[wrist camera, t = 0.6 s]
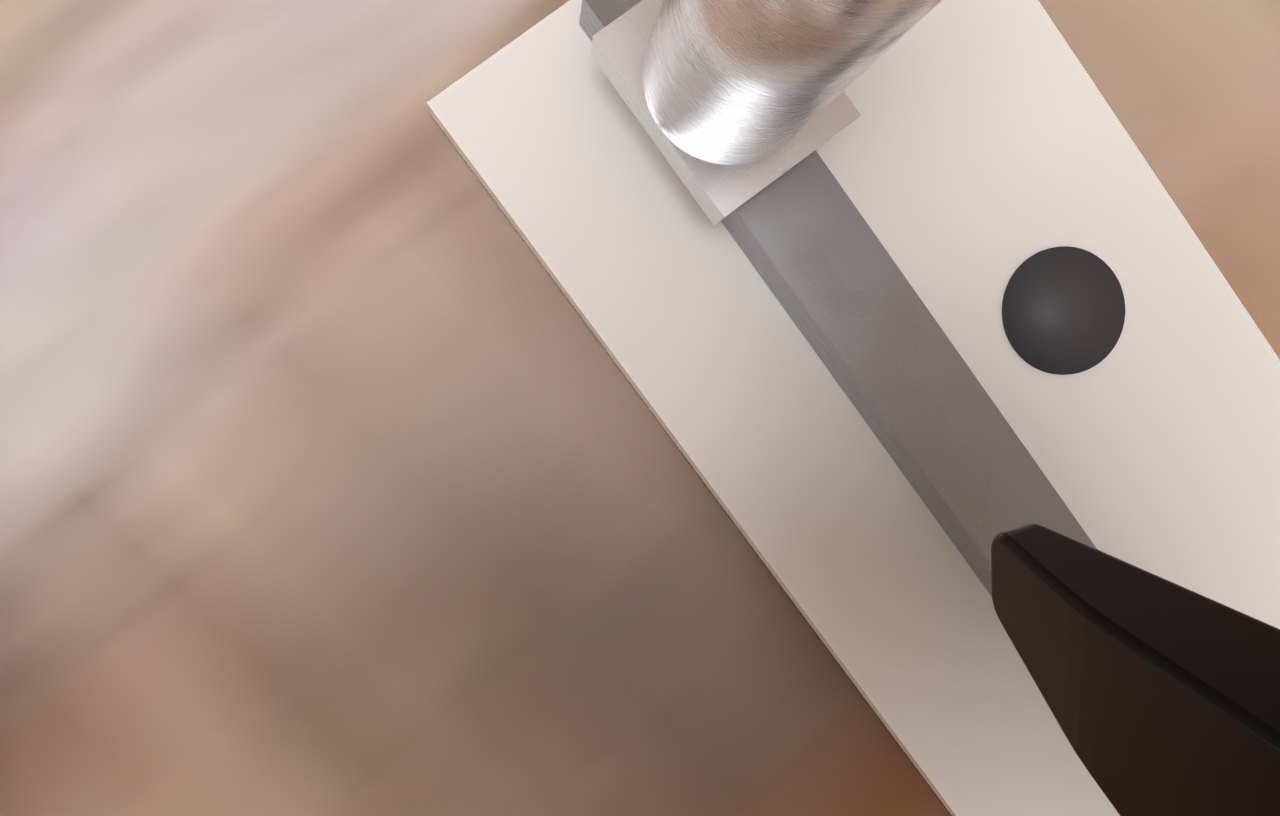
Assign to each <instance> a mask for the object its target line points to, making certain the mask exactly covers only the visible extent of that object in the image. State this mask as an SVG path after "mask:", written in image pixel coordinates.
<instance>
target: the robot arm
mask: <svg viewBox="0 0 1280 816" xmlns="http://www.w3.org/2000/svg"><path fill="white" fill-rule="evenodd" d="M991 594H992V601H993V605H994V608H995V611H996V614H997V616H998V618H999V620H1000V622H1001V624H1002V626H1003V627H1004V629H1005V631H1006V633H1007V634H1008V636H1009V638H1010V640H1011V641H1012V643H1013V645H1014V647H1015V648H1016V650H1017V652H1018V654H1019V655H1020V657H1021V659H1022V661H1023V662H1024V664H1025V666H1026V668H1027V669H1028V671H1029V673H1030V675H1031V676H1032V678H1033V680H1034V682H1035V683H1036V685H1037V687H1038V689H1039V690H1040V692H1041V694H1042V696H1043V697H1044V699H1045V701H1046V703H1047V705H1048V706H1049V708H1050V710H1051V712H1052V713H1053V715H1054V717H1055V719H1056V720H1057V722H1058V724H1059V726H1060V727H1061V729H1062V731H1063V733H1064V734H1065V736H1066V738H1067V739H1068V741H1069V743H1070V744H1071V746H1072V747H1073V749H1074V751H1075V752H1076V754H1077V756H1078V757H1079V758H1080V760H1081V761H1082V763H1083V764H1084V766H1085V767H1086V769H1087V770H1088V772H1089V773H1090V775H1091V776H1092V777H1093V779H1094V780H1095V782H1096V783H1097V784H1098V786H1099V787H1100V788H1101V790H1102V791H1103V793H1104V794H1105V795H1106V797H1107V798H1108V800H1109V801H1110V802H1111V804H1112V805H1113V806H1114V808H1115V809H1116V811H1117V812H1118V813H1119V815H1120V816H1280V629H1278V628H1276V627H1274V626H1271V625H1269V624H1267V623H1265V622H1262V621H1260V620H1258V619H1255V618H1253V617H1251V616H1249V615H1246V614H1244V613H1242V612H1239V611H1237V610H1235V609H1233V608H1230V607H1228V606H1226V605H1223V604H1221V603H1219V602H1217V601H1214V600H1212V599H1210V598H1207V597H1205V596H1203V595H1201V594H1198V593H1196V592H1194V591H1191V590H1189V589H1187V588H1185V587H1182V586H1180V585H1178V584H1175V583H1173V582H1171V581H1168V580H1166V579H1164V578H1162V577H1159V576H1157V575H1155V574H1152V573H1150V572H1148V571H1146V570H1143V569H1141V568H1139V567H1136V566H1134V565H1132V564H1130V563H1127V562H1125V561H1123V560H1120V559H1118V558H1116V557H1114V556H1111V555H1109V554H1107V553H1104V552H1102V551H1100V550H1098V549H1095V548H1093V547H1091V546H1088V545H1086V544H1084V543H1082V542H1079V541H1077V540H1075V539H1072V538H1070V537H1068V536H1066V535H1063V534H1061V533H1059V532H1056V531H1054V530H1052V529H1050V528H1047V527H1045V526H1043V525H1040V524H1035V523H1028V524H1025V525H1022V526H1018V527H1015V528H1012V529H1009V530H1006V531H1003V532H1000V533H998V534H997V535H995V536H994V538H993V540H992V544H991Z"/></svg>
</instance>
